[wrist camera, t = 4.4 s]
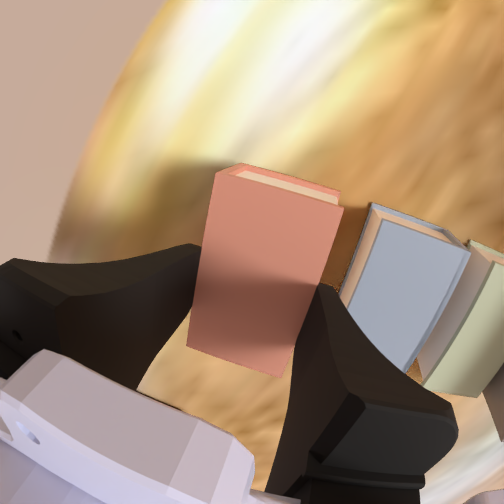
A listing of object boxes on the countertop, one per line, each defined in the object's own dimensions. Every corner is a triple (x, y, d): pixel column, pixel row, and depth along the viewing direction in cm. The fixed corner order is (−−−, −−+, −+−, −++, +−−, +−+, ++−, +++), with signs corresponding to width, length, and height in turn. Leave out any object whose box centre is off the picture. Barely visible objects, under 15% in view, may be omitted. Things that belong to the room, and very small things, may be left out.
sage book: (463, 363, 15) (477, 397, 12) (411, 351, 16) (421, 389, 13) (520, 261, 12) (548, 286, 10) (468, 238, 13) (495, 262, 10)
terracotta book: (241, 162, 12) (215, 172, 10) (340, 191, 12) (344, 209, 9) (210, 308, 15) (186, 345, 12) (290, 335, 15) (281, 378, 12)
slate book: (390, 346, 16) (397, 384, 13) (322, 328, 16) (320, 366, 13) (446, 229, 13) (471, 252, 10) (371, 201, 13) (383, 220, 11)
